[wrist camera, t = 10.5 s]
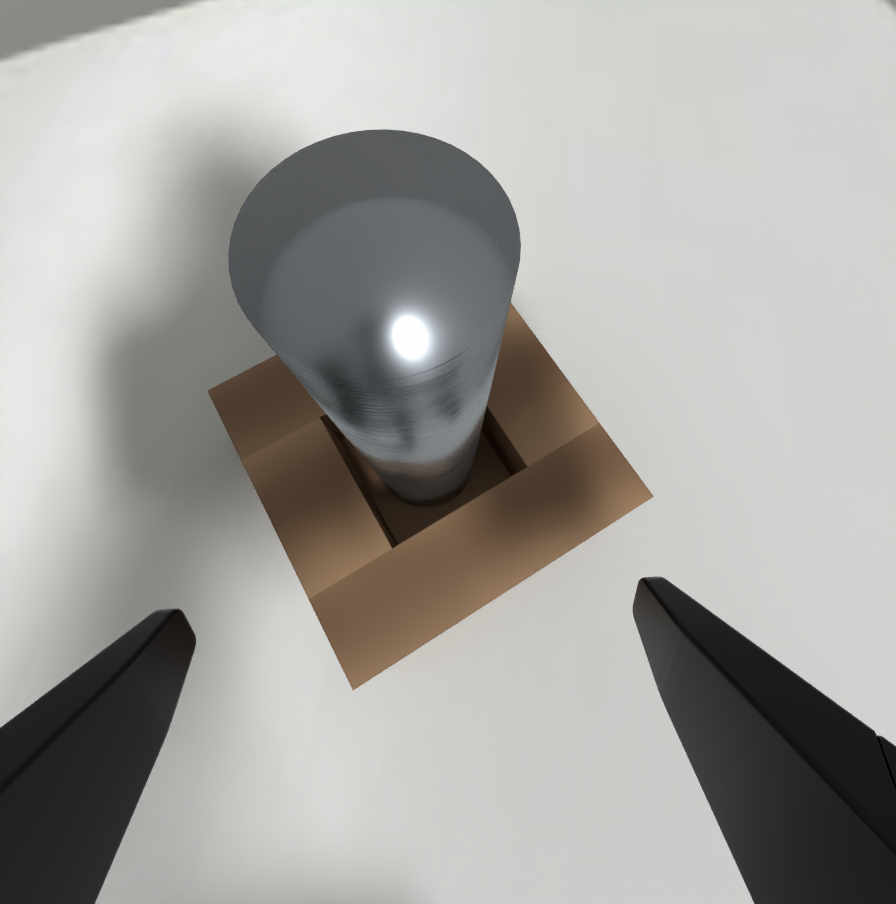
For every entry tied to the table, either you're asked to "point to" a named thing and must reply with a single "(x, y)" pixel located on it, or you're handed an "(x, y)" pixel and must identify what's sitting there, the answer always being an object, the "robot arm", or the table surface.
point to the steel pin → (385, 295)
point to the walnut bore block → (426, 528)
